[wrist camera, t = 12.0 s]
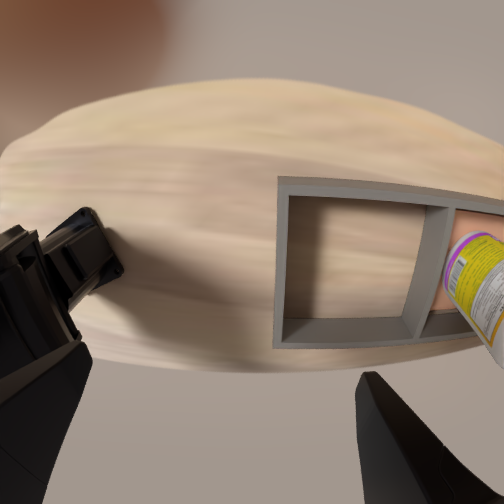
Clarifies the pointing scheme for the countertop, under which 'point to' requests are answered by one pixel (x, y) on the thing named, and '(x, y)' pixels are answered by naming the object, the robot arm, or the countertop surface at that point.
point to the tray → (424, 278)
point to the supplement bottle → (478, 287)
